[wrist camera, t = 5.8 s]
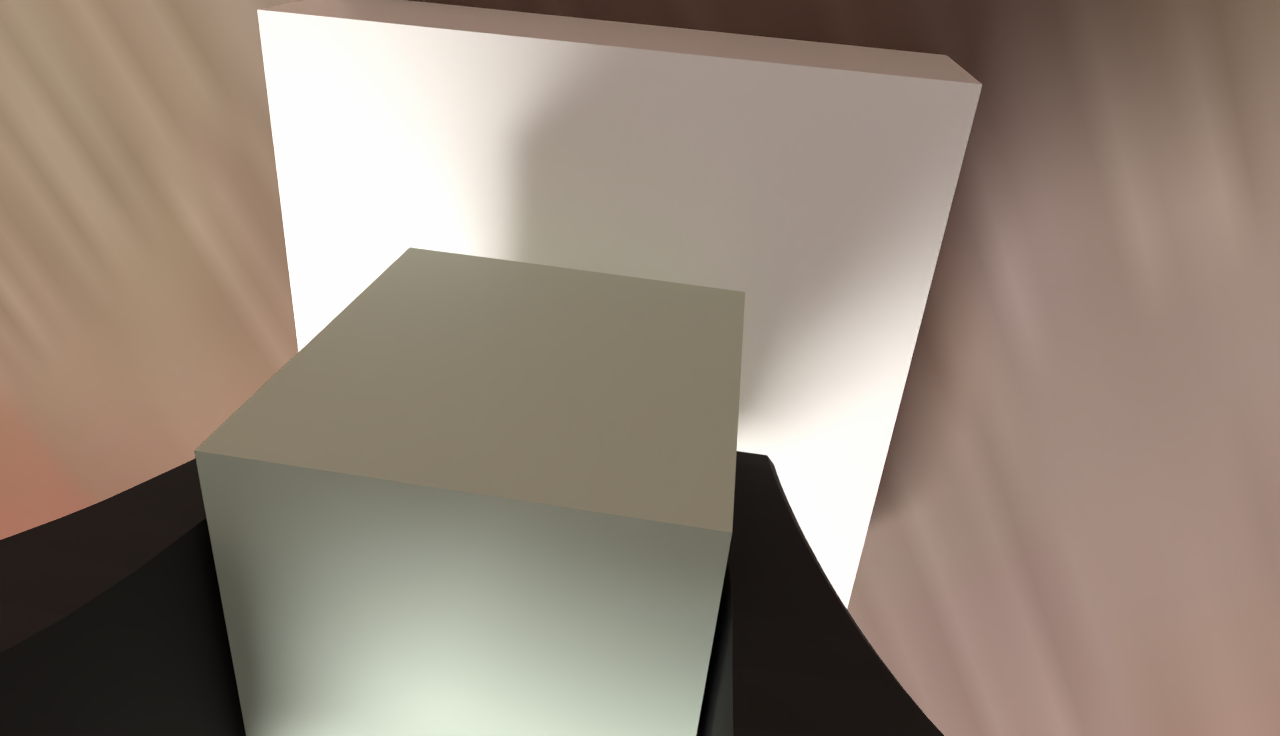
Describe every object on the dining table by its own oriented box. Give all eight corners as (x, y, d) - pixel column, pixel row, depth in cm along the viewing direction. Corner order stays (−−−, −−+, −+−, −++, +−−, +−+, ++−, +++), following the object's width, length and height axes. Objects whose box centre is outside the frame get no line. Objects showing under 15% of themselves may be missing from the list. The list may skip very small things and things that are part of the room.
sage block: (745, 291, 11) (731, 532, 7) (702, 559, 13) (671, 873, 9) (409, 247, 12) (194, 450, 7) (419, 515, 14) (258, 798, 9)
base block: (941, 51, 14) (981, 85, 12) (829, 535, 19) (839, 636, 16) (346, -9, 15) (257, 9, 12) (382, 471, 20) (323, 559, 17)
